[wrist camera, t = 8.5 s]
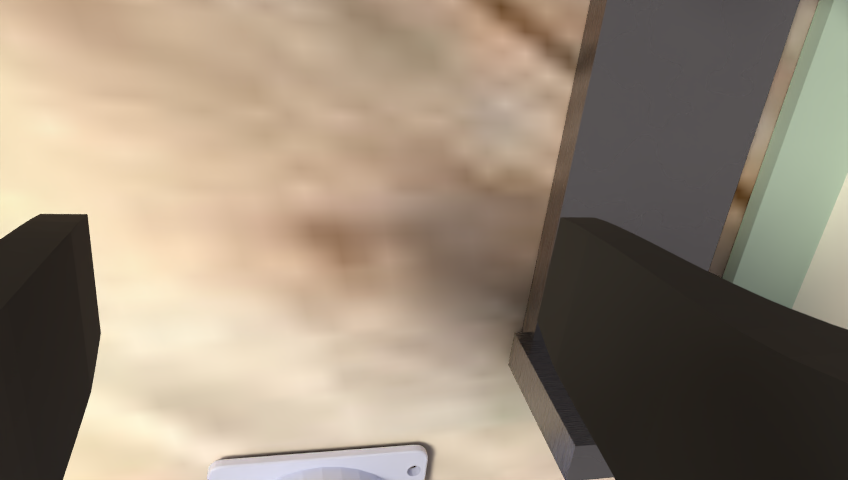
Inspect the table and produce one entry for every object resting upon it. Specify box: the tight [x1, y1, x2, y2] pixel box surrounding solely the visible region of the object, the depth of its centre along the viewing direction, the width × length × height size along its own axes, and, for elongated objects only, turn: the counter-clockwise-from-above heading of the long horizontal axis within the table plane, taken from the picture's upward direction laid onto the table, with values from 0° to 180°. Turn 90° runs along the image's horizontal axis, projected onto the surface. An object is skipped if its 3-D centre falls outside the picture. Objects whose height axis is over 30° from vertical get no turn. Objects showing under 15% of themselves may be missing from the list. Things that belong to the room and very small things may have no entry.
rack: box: [508, 0, 800, 480], centre depth 21 cm, size 18×7×6 cm, turn 173°
